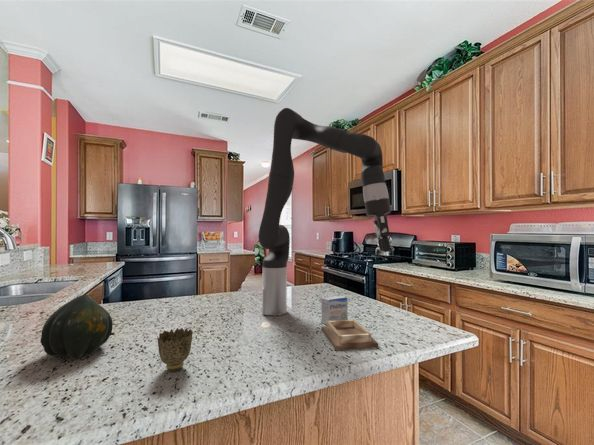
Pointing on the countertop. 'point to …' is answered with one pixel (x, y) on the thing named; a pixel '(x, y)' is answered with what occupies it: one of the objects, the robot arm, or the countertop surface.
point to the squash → (76, 328)
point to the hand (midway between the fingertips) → (385, 251)
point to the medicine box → (334, 308)
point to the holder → (348, 335)
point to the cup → (174, 347)
